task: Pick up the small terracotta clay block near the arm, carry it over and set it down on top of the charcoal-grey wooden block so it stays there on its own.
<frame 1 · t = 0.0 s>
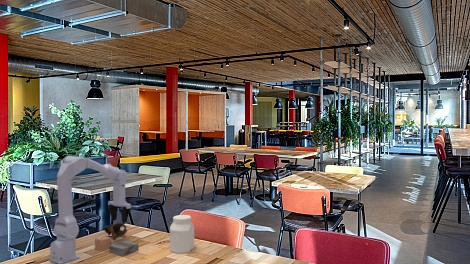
hand: (119, 221, 181), 10 cm above the table, tool pointing down, fingers open, 7 cm apart
terracotta block: (103, 248, 171), on the table
pottery mug: (115, 237, 189), on the table
grey base block: (124, 252, 167), on the table
jar: (182, 249, 170), on the table
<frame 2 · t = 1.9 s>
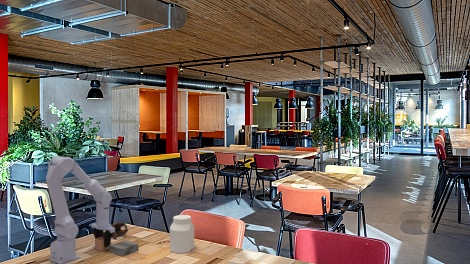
hand: (103, 245, 171), 1 cm above the table, tool pointing down, fingers closed on terracotta block, 5 cm apart
terracotta block: (103, 248, 171), on the table, touching gripper
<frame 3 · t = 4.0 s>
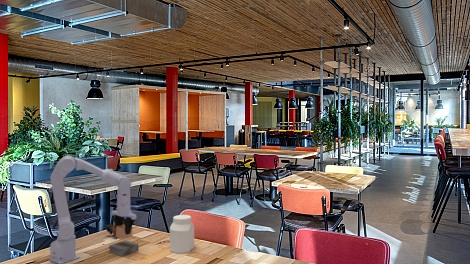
hand: (123, 232, 167), 8 cm above the table, tool pointing down, fingers closed on terracotta block, 5 cm apart
terracotta block: (124, 236, 167), point 7 cm above the table, touching gripper
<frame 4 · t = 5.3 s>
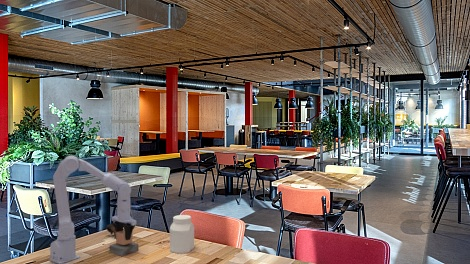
hand: (123, 238, 167), 6 cm above the table, tool pointing down, fingers closed on terracotta block, 5 cm apart
terracotta block: (124, 242, 167), point 4 cm above the table, touching gripper
when the fingers open (6 cm above the table, at t = 6.3 s): terracotta block stays where it is, point 3 cm above the table.
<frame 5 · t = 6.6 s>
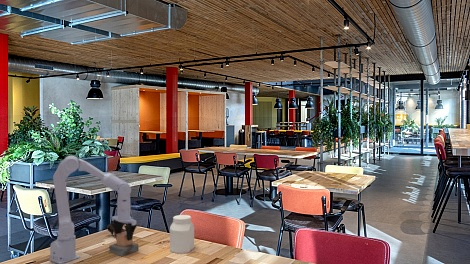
hand: (124, 238, 167), 6 cm above the table, tool pointing down, fingers open, 7 cm apart
terracotta block: (124, 244, 167), point 3 cm above the table
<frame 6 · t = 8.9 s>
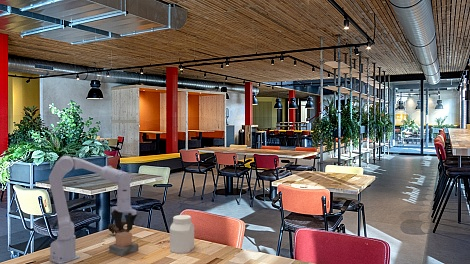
hand: (123, 228, 167), 10 cm above the table, tool pointing down, fingers open, 7 cm apart
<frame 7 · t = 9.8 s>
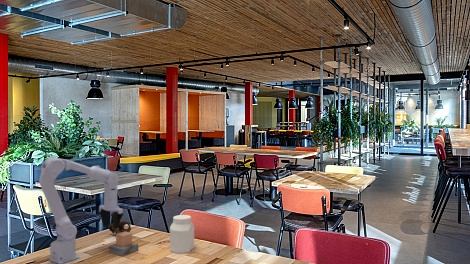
hand: (110, 227, 170), 10 cm above the table, tool pointing down, fingers open, 7 cm apart
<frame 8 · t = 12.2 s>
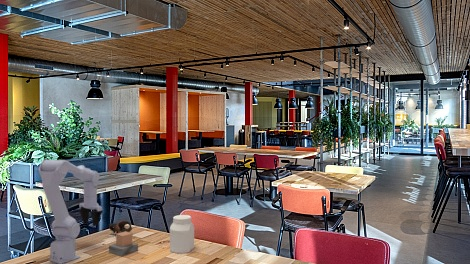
hand: (90, 224, 174), 10 cm above the table, tool pointing down, fingers open, 7 cm apart
terracotta block: (124, 244, 167), point 3 cm above the table, touching grey base block
grey base block: (123, 252, 167), on the table, touching terracotta block
at the end: terracotta block 0.4 cm off-centre on the grey base block, point 3.5 cm above the grey base block's base; terracotta block tilted 1°; the gripper is holding nothing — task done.
